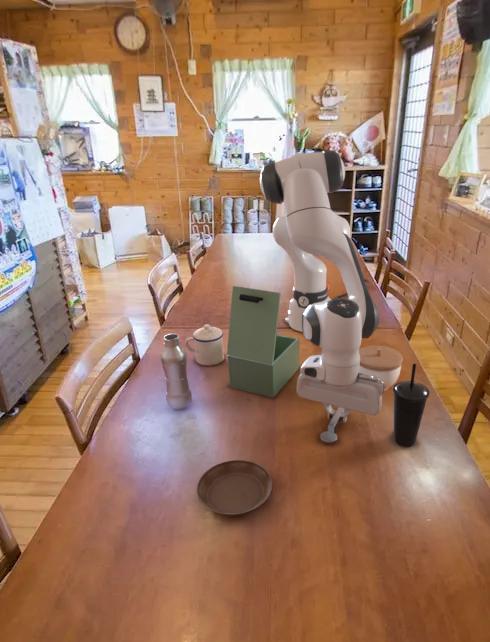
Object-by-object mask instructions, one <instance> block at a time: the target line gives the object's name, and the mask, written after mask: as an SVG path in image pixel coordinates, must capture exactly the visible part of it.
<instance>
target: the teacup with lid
mask: <svg viewBox="0 0 490 642" xmlns="http://www.w3.org/2000/svg"><path fill="white" fill-rule="evenodd" d="M223 336H224V332H223V330H221V328H218V327H216V326H211V324H208V323H207V324H204V325H203V326H202V327H200V328H198V329H195V330H194V332H193V334H192V336H190V337H187V338H186V339H185V341H184V345H185V346H184V347H185V348H186V349H187V351H189V352H191V353H194V354H195V361H196V363H198V364H199V365H202V366H206V367H209V366H215V365H218V364H220V363H222V362H223V361H224V359H225V353H224V340H223ZM189 341H193V343H194V344H193V345H194V349H193V348H192V347H191V346H190V345H189Z"/></svg>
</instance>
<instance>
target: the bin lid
mask: <svg viewBox="0 0 490 642" xmlns="http://www.w3.org/2000/svg"><path fill="white" fill-rule="evenodd" d="M281 296H282V292H278V291H271V290H265V289H258V288H251V287H245V286H239V285H233V286H232V291H231V301H230V302H231V304H230V314H229V315H230V316H229V326H228V337H227V349H226V355H227V356H228V355H231V356H235V357H240V358H244V359H249V360H253V361H258V362H262V363H267V364H271V365H273V362H274V353H275V344H276V335H277V333H278V324H279V314H280V307H281Z"/></svg>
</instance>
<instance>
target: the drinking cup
mask: <svg viewBox="0 0 490 642" xmlns="http://www.w3.org/2000/svg"><path fill="white" fill-rule="evenodd" d="M411 368H412V369H411V375H410V380H402V381H401V380H400V381H398V382H395V383H394V384H393V385H392V386H393V387H392V392H393V441H394V442H395V444H397V446H398V445H399V446H401V447H405V448H408V447H412V446H414V445H415V444H416V441H417V437H418V433H419V429H420V425H421V423H422V419H423V414H424V411H425V407H426V404H427V400H428V398H429V397H430V389H429V388H428V387H427V386H425V384H423V383H420V382H417V381H415V376H416V369H417V364H416V363H412V367H411Z"/></svg>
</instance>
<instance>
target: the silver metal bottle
mask: <svg viewBox="0 0 490 642" xmlns="http://www.w3.org/2000/svg"><path fill="white" fill-rule="evenodd" d="M180 343H181V341H180V336H179V334H177V333H169V334H165V335H164V336H163V346H164V347H163V349H162V351H161V353H160V358H159V359H160V362H161V365H162V369H163V372H164V376H165V381H166V382H165V383H166V392H165V395H166V396H165V397H166V398H165V400H166V403H167V405H168V406H169V407H170V408H171V409H173V410H184V409H185V408H187V407H188V406H190V404H191V403H192V400H193V395H192V390H191V388H190V383H189V379H188V372H187V371H188V370H187V366H188V365H187V362H188V361H187V360H188V356H187V354H188V353H187V351H186V350H185V348H184V347H183V346H181V345H180Z"/></svg>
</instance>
